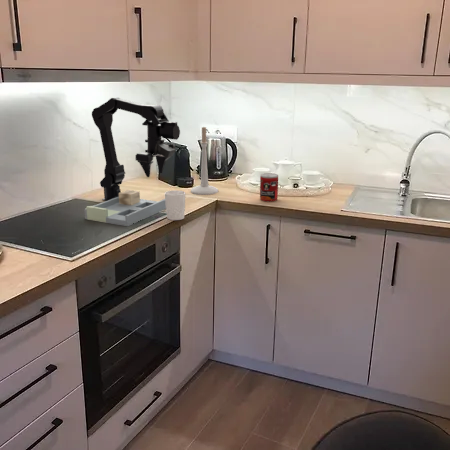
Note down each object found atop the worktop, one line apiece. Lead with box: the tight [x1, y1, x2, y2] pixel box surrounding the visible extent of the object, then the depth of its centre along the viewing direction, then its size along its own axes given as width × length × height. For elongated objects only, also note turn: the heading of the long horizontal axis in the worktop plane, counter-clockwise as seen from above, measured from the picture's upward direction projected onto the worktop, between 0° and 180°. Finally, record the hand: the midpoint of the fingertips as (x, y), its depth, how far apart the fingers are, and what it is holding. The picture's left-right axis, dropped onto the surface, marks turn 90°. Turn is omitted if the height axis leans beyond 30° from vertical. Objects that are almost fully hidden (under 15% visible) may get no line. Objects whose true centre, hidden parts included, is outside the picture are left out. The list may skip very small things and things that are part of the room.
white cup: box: [164, 189, 186, 221], centre depth 195 cm, size 8×8×10 cm
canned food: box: [259, 172, 279, 202], centre depth 221 cm, size 8×8×11 cm
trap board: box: [84, 197, 166, 227], centre depth 202 cm, size 20×28×5 cm
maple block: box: [119, 189, 141, 205], centre depth 209 cm, size 6×6×4 cm
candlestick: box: [190, 126, 219, 196], centre depth 232 cm, size 13×13×30 cm
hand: (154, 175), depth 210 cm, fingers open, 9 cm apart
